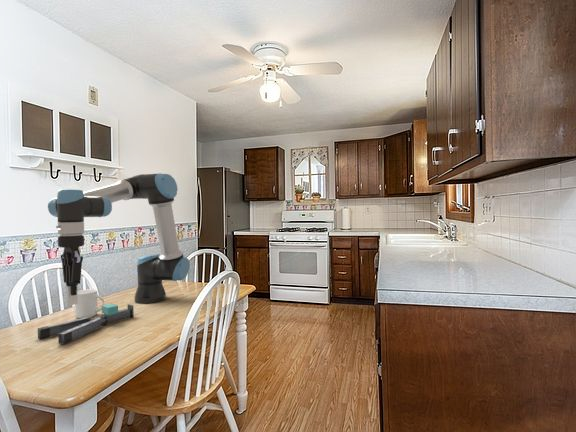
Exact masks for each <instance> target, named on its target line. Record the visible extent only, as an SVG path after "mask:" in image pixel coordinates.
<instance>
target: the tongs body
mask: <svg viewBox="0 0 576 432" xmlns="http://www.w3.org/2000/svg"><path fill="white" fill-rule="evenodd" d="M134 315H135V313H134V305H133V304H130V303H129V304H127V308H124V309H120V310H119V309H118V313H116V314H112V315H106V314H104V313H101V315H98V316H93V318H92V320H94V319H97V318H100V319H101V321H102V327H105V326H107V325H109V324H112V323H116V322H121V321H124V320H128V319H134V317H135V316H134ZM89 321H91V317H85V318H77V319H73V320H69V321H64V322H60V323H56V324H55V323H54V324H51V325H45V326H42V327H38V328H37V338H38V339H39V340H44V339H48V338H50V337H55V336H58V334H59V333H61V332H64V331H67V330H69V329H72V328H74V327H77V326H79V325H82V324H84V323H87V322H89Z"/></svg>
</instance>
